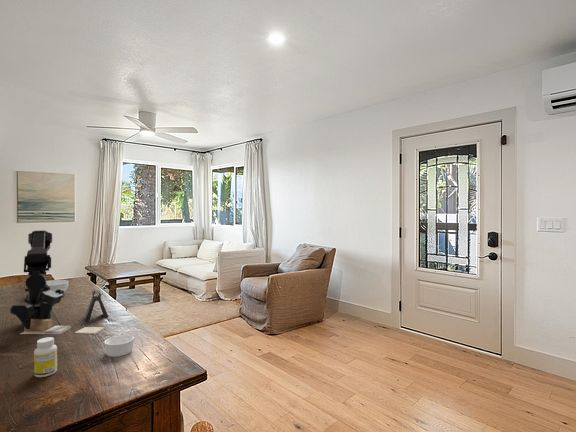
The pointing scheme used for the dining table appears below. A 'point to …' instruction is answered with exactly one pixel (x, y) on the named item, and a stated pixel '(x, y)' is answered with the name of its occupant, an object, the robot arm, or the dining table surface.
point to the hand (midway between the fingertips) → (37, 324)
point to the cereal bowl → (57, 284)
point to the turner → (45, 326)
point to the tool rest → (39, 332)
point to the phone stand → (91, 305)
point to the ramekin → (119, 345)
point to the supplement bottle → (45, 357)
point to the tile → (90, 330)
